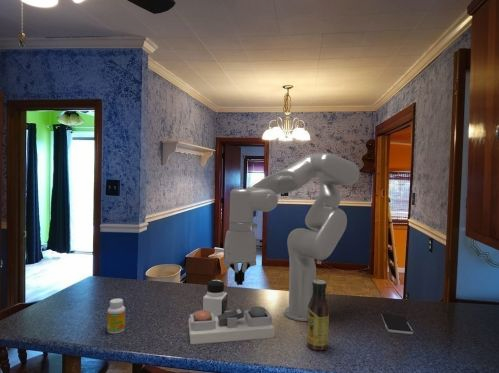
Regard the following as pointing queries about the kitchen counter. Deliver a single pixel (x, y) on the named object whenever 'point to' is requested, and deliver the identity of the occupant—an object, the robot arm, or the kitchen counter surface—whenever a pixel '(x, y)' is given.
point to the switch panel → (230, 329)
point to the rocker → (230, 316)
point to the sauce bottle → (318, 317)
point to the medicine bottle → (215, 298)
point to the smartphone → (396, 323)
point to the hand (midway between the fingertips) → (239, 283)
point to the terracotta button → (202, 315)
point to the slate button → (257, 312)
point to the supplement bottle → (116, 316)
